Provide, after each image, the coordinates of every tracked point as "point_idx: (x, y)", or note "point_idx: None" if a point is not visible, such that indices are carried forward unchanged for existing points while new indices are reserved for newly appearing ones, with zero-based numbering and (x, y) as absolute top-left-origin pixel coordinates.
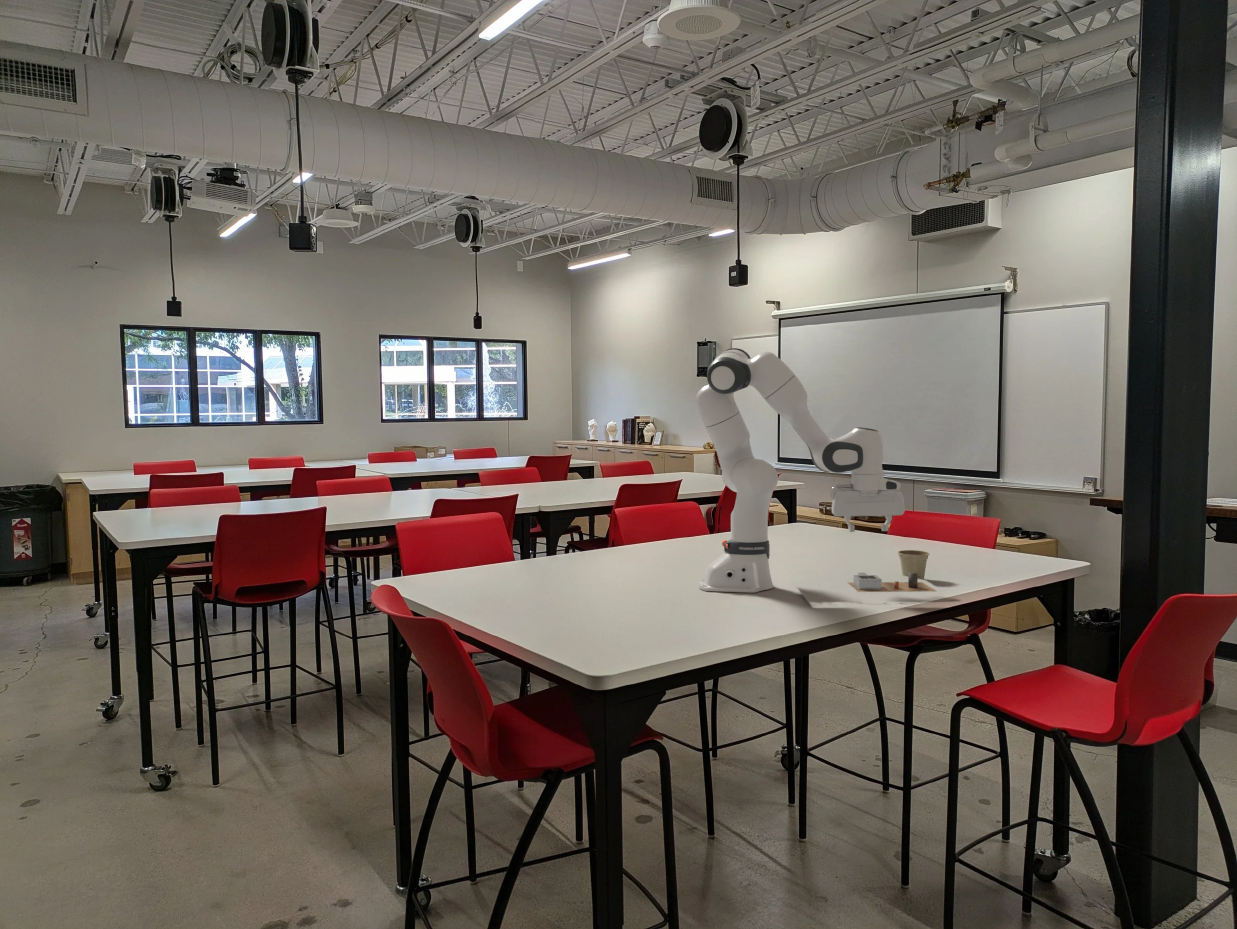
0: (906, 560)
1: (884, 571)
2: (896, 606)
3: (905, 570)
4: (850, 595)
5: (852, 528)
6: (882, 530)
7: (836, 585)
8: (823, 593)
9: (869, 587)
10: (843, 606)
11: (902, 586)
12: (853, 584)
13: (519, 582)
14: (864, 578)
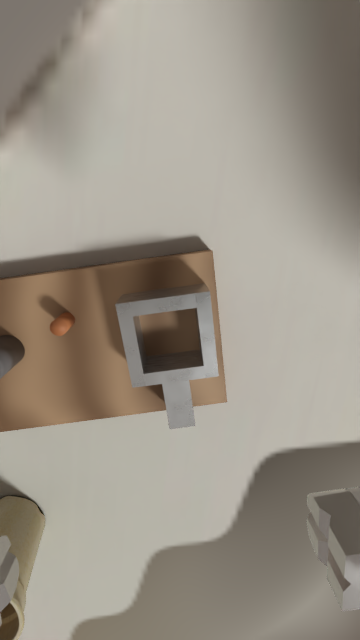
0: None
1: (92, 601)
2: (83, 78)
3: (24, 531)
4: (232, 270)
5: (354, 517)
6: (6, 548)
7: (253, 418)
8: (319, 292)
9: (166, 289)
10: (293, 50)
11: (45, 359)
12: None
13: None
14: (177, 364)
